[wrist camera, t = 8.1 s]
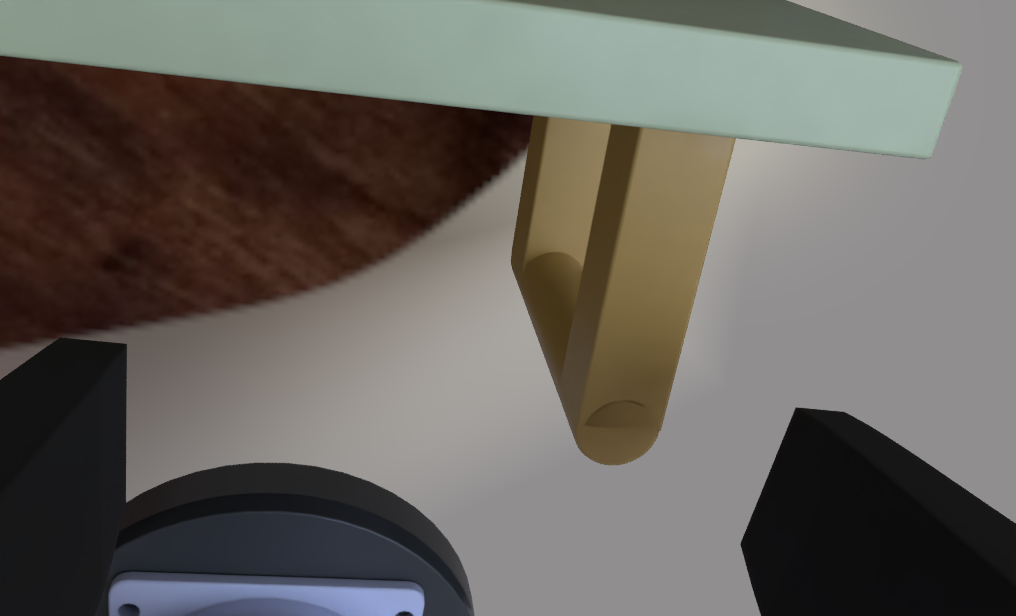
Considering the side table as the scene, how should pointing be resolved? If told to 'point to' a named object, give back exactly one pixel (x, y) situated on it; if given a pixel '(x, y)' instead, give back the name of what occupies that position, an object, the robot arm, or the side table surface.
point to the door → (562, 133)
